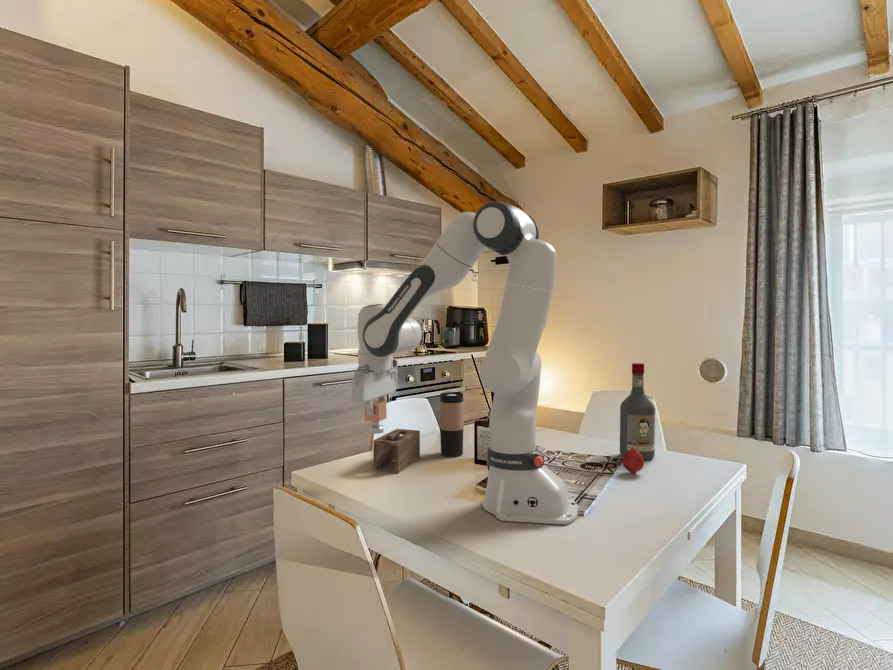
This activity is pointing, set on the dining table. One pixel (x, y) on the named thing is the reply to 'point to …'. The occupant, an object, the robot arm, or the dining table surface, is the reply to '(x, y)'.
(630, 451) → the onion
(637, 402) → the liquor
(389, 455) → the dark wooden box
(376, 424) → the keyed peg
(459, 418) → the travel mug
